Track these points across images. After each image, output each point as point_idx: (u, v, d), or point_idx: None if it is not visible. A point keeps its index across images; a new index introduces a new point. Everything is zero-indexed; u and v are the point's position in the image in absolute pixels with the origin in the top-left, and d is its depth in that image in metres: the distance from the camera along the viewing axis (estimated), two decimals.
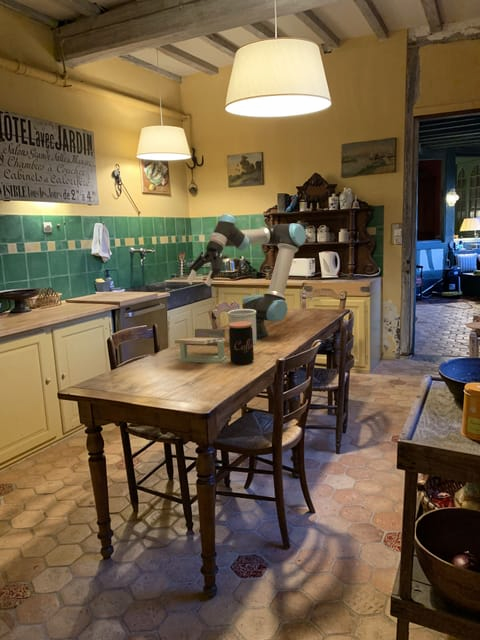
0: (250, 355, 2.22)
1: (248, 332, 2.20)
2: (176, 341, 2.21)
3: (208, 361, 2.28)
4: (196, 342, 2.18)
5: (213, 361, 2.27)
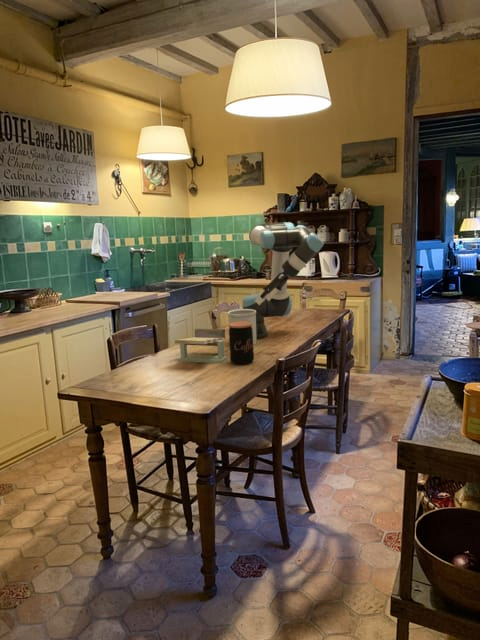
0: (250, 355, 2.22)
1: (248, 332, 2.20)
2: (176, 341, 2.21)
3: (208, 361, 2.28)
4: (196, 342, 2.18)
5: (213, 361, 2.27)
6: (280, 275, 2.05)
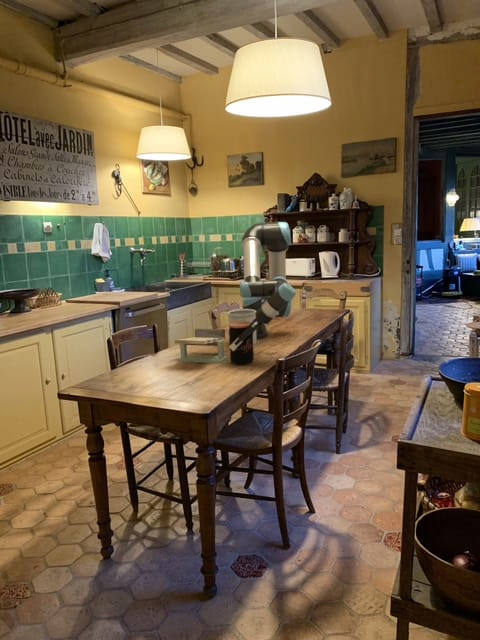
0: (250, 355, 2.22)
1: None
2: (176, 341, 2.21)
3: (208, 361, 2.28)
4: (196, 342, 2.18)
5: (213, 361, 2.27)
6: (253, 324, 2.14)
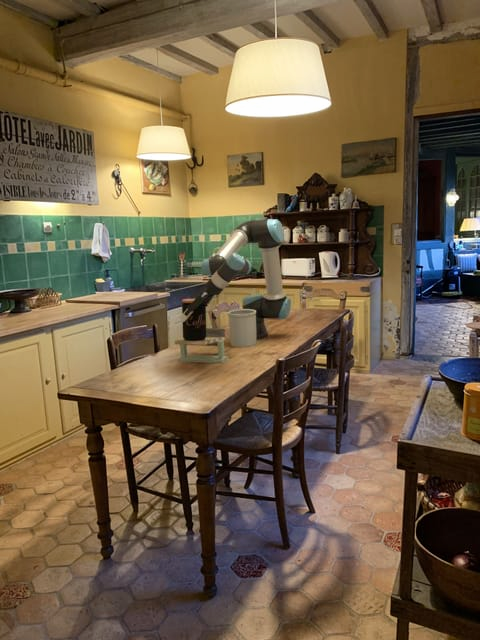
0: (202, 331, 2.20)
1: (201, 307, 2.18)
2: (176, 342, 2.21)
3: (208, 361, 2.28)
4: (196, 343, 2.18)
5: (213, 361, 2.27)
6: (203, 294, 2.11)
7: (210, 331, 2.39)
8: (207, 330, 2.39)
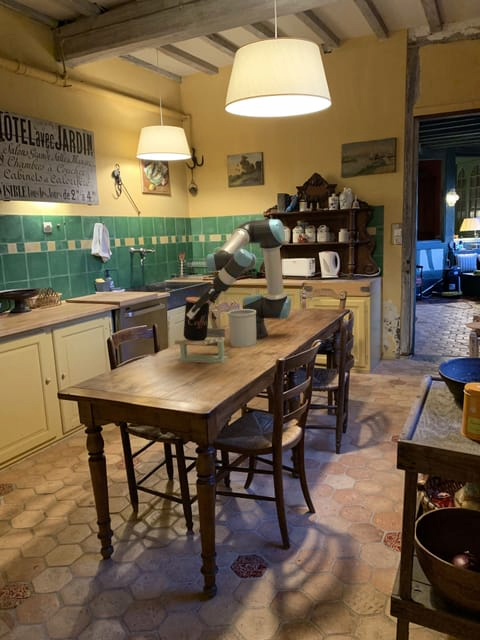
0: (203, 332, 2.19)
1: (204, 308, 2.17)
2: (176, 342, 2.21)
3: (208, 361, 2.28)
4: (196, 343, 2.18)
5: (213, 361, 2.27)
6: (210, 290, 2.09)
7: (210, 331, 2.39)
8: (207, 330, 2.39)
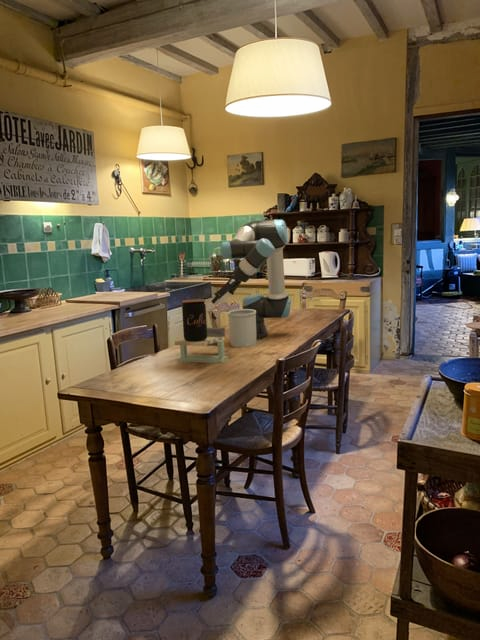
0: (203, 330, 2.20)
1: (201, 306, 2.20)
2: (176, 343, 2.21)
3: (208, 361, 2.28)
4: (196, 344, 2.17)
5: (213, 361, 2.27)
6: (231, 280, 2.05)
7: (210, 331, 2.39)
8: (207, 330, 2.39)
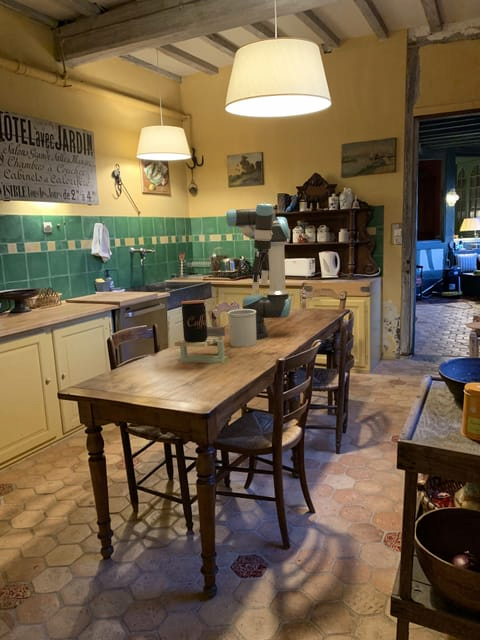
0: (204, 332, 2.20)
1: (201, 308, 2.19)
2: (176, 344, 2.21)
3: (208, 361, 2.28)
4: (196, 345, 2.17)
5: (213, 361, 2.27)
6: (257, 253, 2.14)
7: (210, 330, 2.39)
8: (207, 329, 2.39)
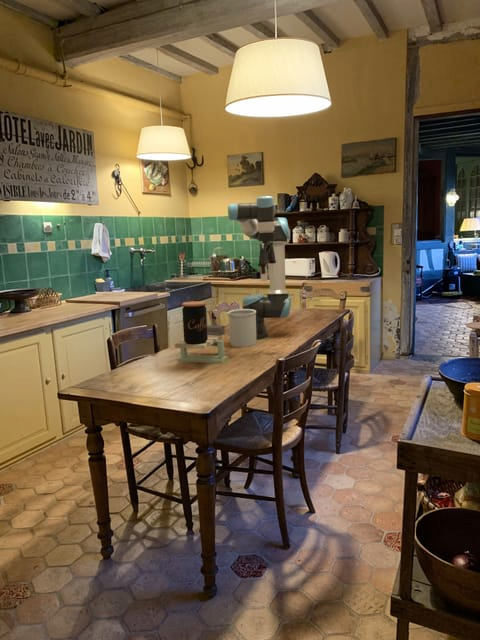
0: (204, 334, 2.20)
1: (202, 310, 2.18)
2: (176, 345, 2.21)
3: (208, 361, 2.28)
4: (196, 346, 2.18)
5: (213, 361, 2.27)
6: (262, 245, 2.16)
7: (210, 329, 2.38)
8: None
